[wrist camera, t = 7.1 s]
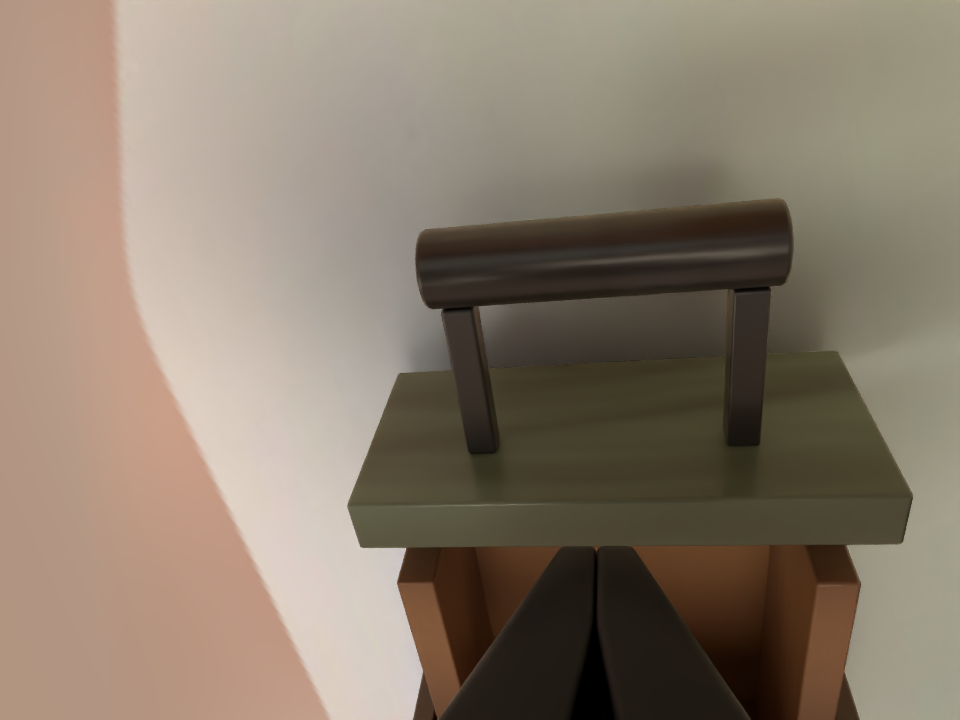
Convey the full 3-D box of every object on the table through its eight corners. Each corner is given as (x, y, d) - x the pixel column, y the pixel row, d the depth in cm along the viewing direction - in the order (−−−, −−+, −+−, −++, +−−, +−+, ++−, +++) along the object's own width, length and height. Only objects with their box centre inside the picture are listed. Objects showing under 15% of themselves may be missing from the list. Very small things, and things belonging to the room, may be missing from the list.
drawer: (352, 185, 15) (273, 286, 12) (867, 133, 14) (976, 232, 10) (472, 679, 24) (451, 828, 20) (792, 687, 22) (833, 853, 19)
